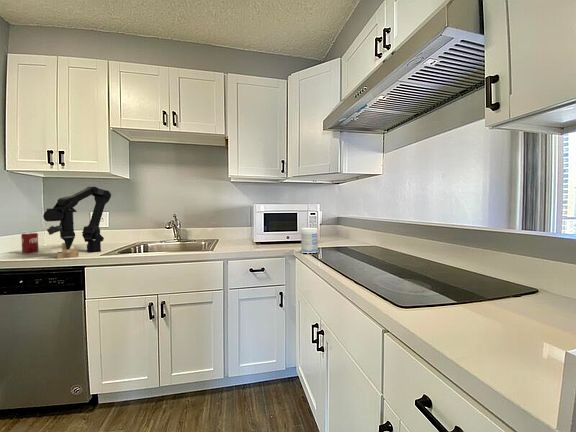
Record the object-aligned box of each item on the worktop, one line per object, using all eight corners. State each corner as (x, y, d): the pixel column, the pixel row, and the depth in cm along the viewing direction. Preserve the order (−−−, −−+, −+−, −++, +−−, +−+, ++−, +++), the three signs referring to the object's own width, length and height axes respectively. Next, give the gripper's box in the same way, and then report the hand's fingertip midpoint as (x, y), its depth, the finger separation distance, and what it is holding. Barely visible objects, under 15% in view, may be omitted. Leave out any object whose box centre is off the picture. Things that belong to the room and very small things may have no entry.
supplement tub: (315, 255, 156) (315, 229, 156) (299, 254, 159) (299, 228, 159) (319, 252, 165) (319, 227, 165) (303, 251, 168) (303, 227, 168)
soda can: (19, 254, 161) (18, 234, 161) (27, 252, 168) (26, 232, 168) (34, 253, 163) (33, 233, 163) (41, 251, 170) (40, 232, 170)
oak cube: (73, 251, 158) (73, 242, 158) (73, 252, 154) (73, 243, 154) (62, 252, 155) (61, 243, 154) (62, 253, 151) (61, 244, 151)
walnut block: (77, 255, 161) (77, 250, 161) (78, 257, 154) (78, 252, 154) (57, 257, 155) (57, 252, 155) (57, 259, 148) (57, 254, 148)
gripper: (48, 220, 156) (49, 248, 156) (47, 221, 141) (48, 252, 142) (73, 219, 163) (74, 246, 163) (74, 221, 148) (75, 250, 149)
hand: (67, 248), depth 154 cm, fingers open, 9 cm apart
